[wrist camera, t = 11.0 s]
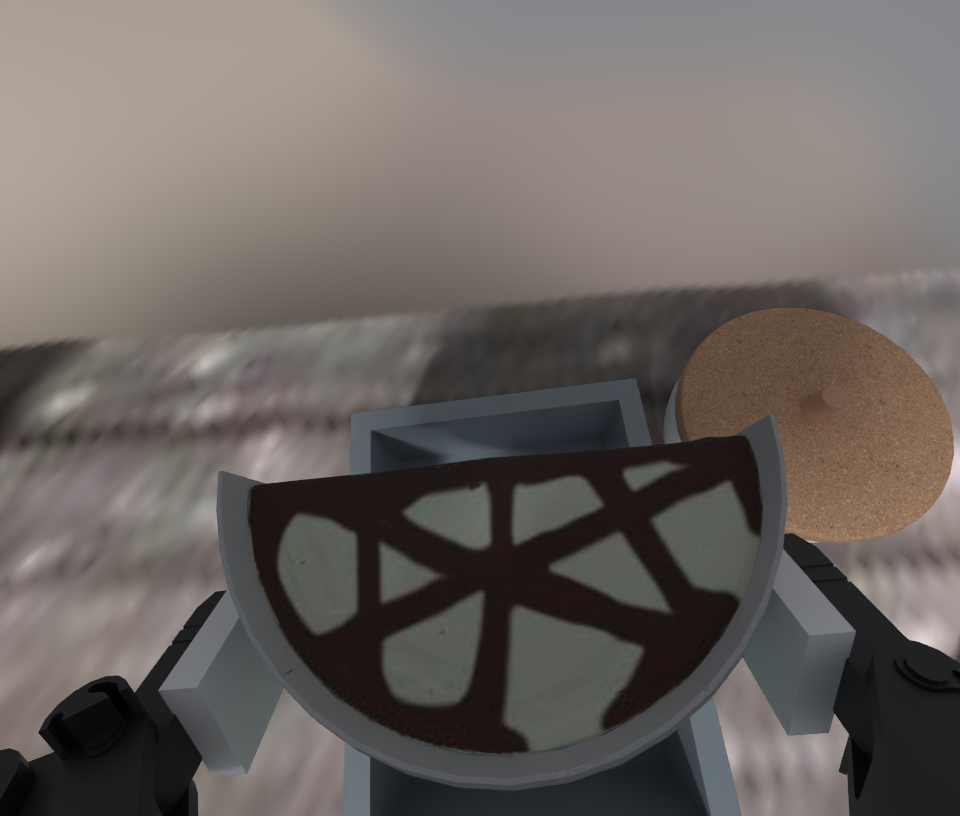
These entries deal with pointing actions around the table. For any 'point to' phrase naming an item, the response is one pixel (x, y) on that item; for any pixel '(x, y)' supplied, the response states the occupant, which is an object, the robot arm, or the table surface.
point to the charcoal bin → (516, 432)
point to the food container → (511, 600)
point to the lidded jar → (823, 417)
